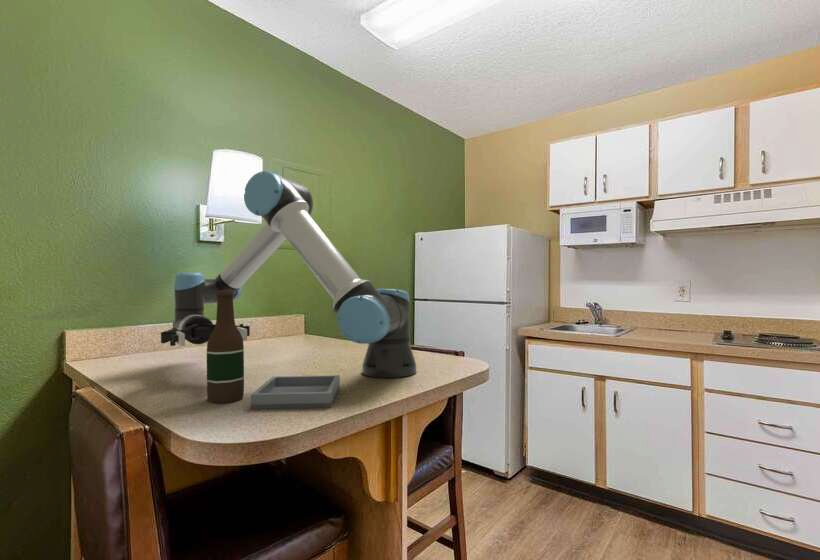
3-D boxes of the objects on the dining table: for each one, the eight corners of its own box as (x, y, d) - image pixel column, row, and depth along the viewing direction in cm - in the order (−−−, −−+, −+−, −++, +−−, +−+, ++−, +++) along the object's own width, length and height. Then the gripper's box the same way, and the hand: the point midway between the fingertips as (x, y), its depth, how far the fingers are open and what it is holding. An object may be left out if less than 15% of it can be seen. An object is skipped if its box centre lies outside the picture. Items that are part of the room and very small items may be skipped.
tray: (339, 387, 103) (339, 375, 103) (330, 407, 87) (330, 393, 87) (272, 388, 102) (272, 376, 102) (251, 409, 86) (251, 394, 86)
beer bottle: (251, 394, 97) (250, 289, 97) (233, 404, 89) (232, 290, 89) (219, 394, 98) (218, 290, 98) (198, 404, 90) (197, 291, 90)
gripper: (243, 338, 123) (268, 347, 107) (143, 347, 108) (153, 359, 91) (243, 312, 123) (268, 317, 107) (142, 318, 108) (153, 325, 91)
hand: (215, 337), depth 99 cm, fingers open, 13 cm apart
